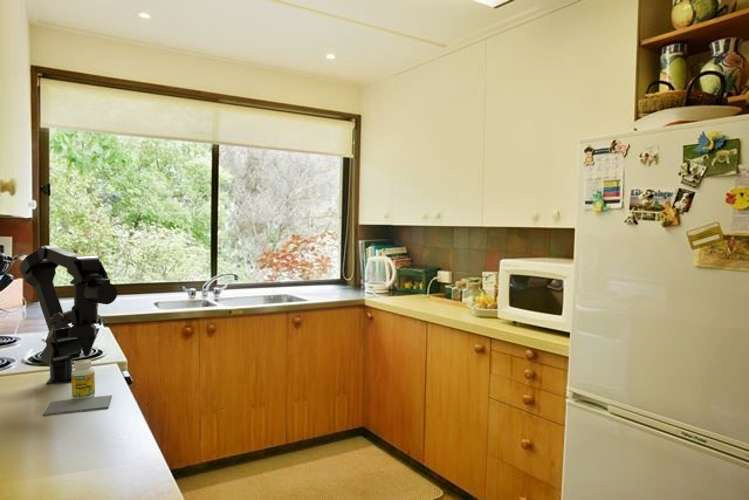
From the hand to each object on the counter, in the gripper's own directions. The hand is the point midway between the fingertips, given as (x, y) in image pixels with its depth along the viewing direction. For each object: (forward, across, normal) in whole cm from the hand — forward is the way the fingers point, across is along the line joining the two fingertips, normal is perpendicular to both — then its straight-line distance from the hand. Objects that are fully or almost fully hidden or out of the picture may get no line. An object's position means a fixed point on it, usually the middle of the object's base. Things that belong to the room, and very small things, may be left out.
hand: (86, 355), depth 142 cm
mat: (+9, +15, 0) cm, 18 cm away
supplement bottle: (+9, +8, 0) cm, 12 cm away
